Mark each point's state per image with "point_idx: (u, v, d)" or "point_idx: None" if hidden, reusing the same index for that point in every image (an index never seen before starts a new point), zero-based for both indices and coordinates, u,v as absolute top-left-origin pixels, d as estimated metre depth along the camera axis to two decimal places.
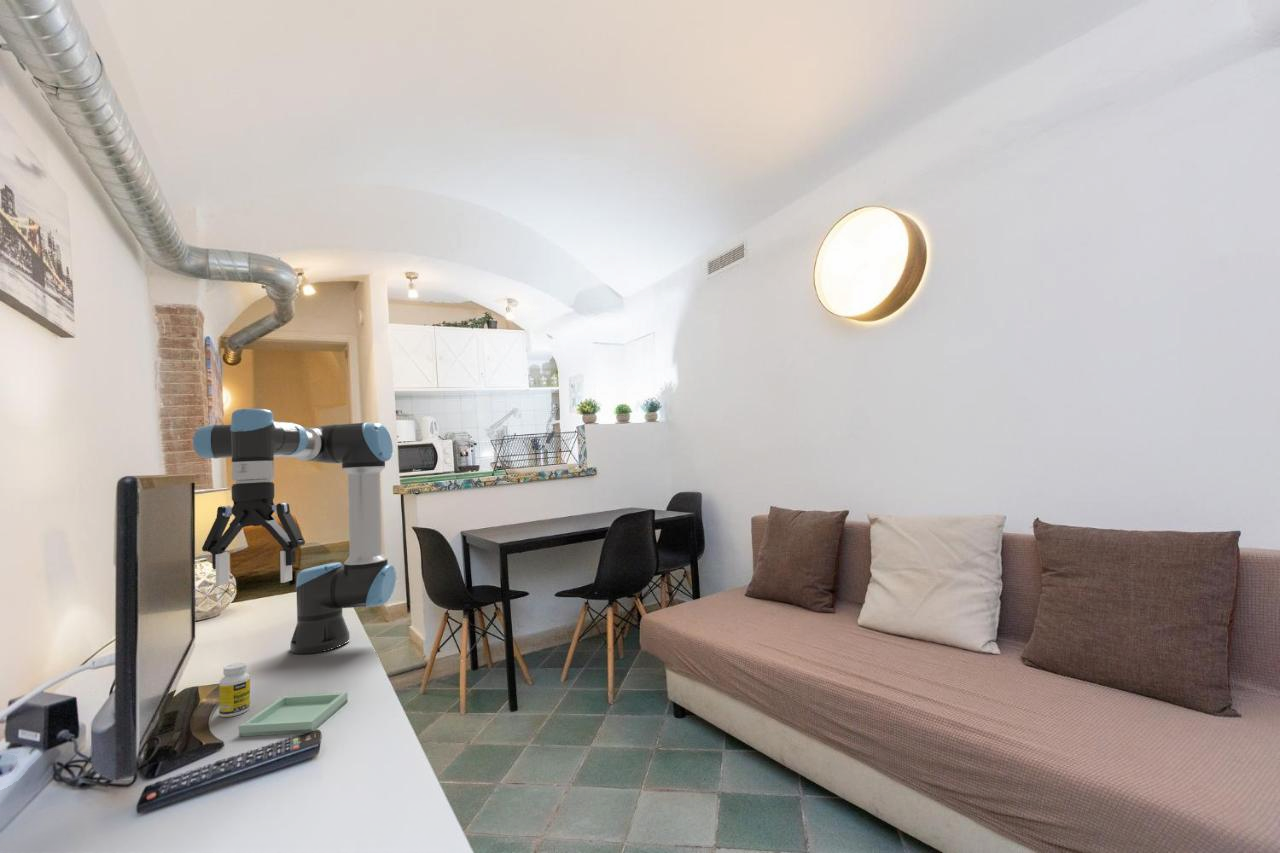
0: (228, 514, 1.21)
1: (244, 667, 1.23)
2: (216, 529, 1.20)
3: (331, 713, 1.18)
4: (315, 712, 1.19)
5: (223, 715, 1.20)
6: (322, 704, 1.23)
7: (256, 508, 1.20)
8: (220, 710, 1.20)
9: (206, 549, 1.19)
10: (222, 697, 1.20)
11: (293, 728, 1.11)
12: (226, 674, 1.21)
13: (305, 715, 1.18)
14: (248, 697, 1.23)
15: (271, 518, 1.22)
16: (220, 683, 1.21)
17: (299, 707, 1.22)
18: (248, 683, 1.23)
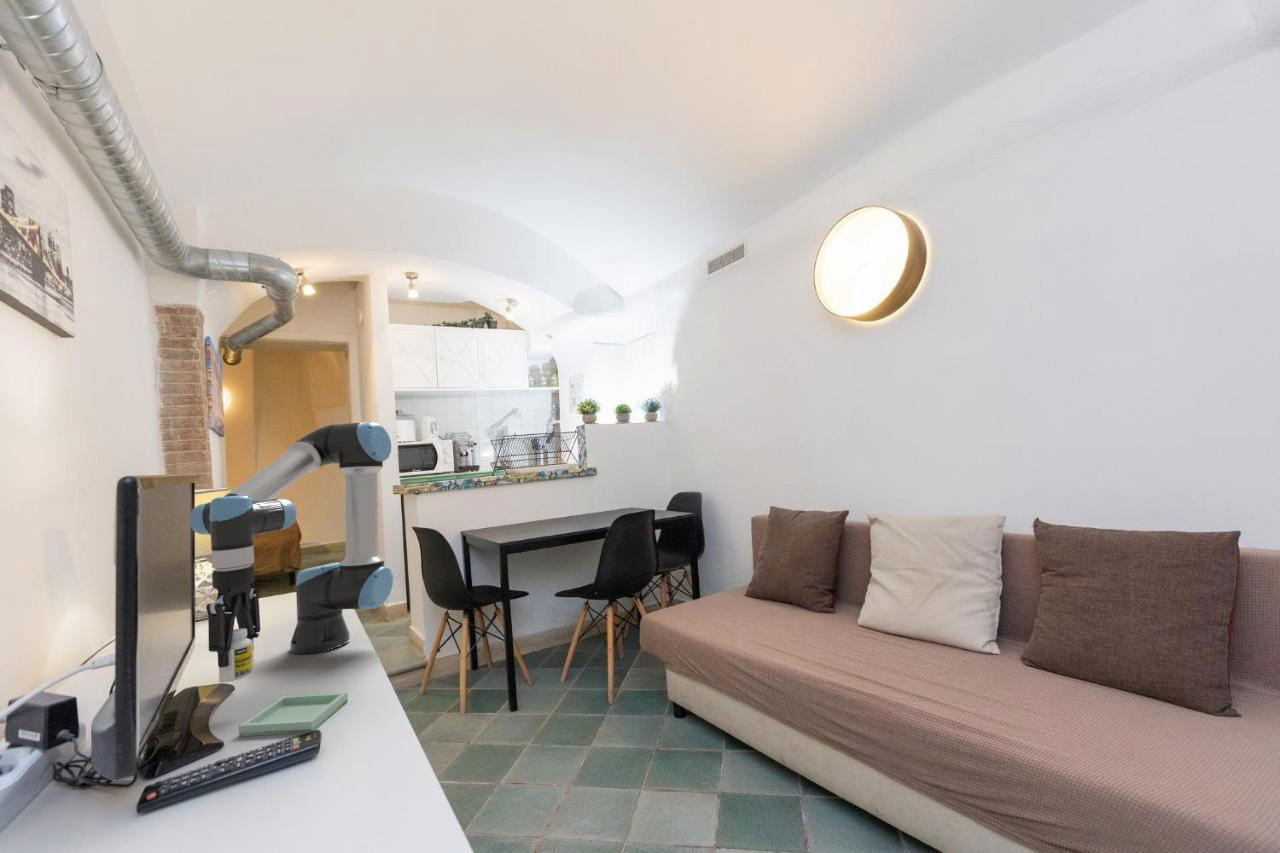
0: None
1: (245, 632, 1.24)
2: None
3: (331, 713, 1.18)
4: (315, 712, 1.19)
5: None
6: (322, 704, 1.23)
7: None
8: None
9: None
10: None
11: (293, 728, 1.11)
12: None
13: (305, 715, 1.18)
14: (250, 662, 1.24)
15: None
16: None
17: (299, 707, 1.22)
18: (249, 648, 1.24)
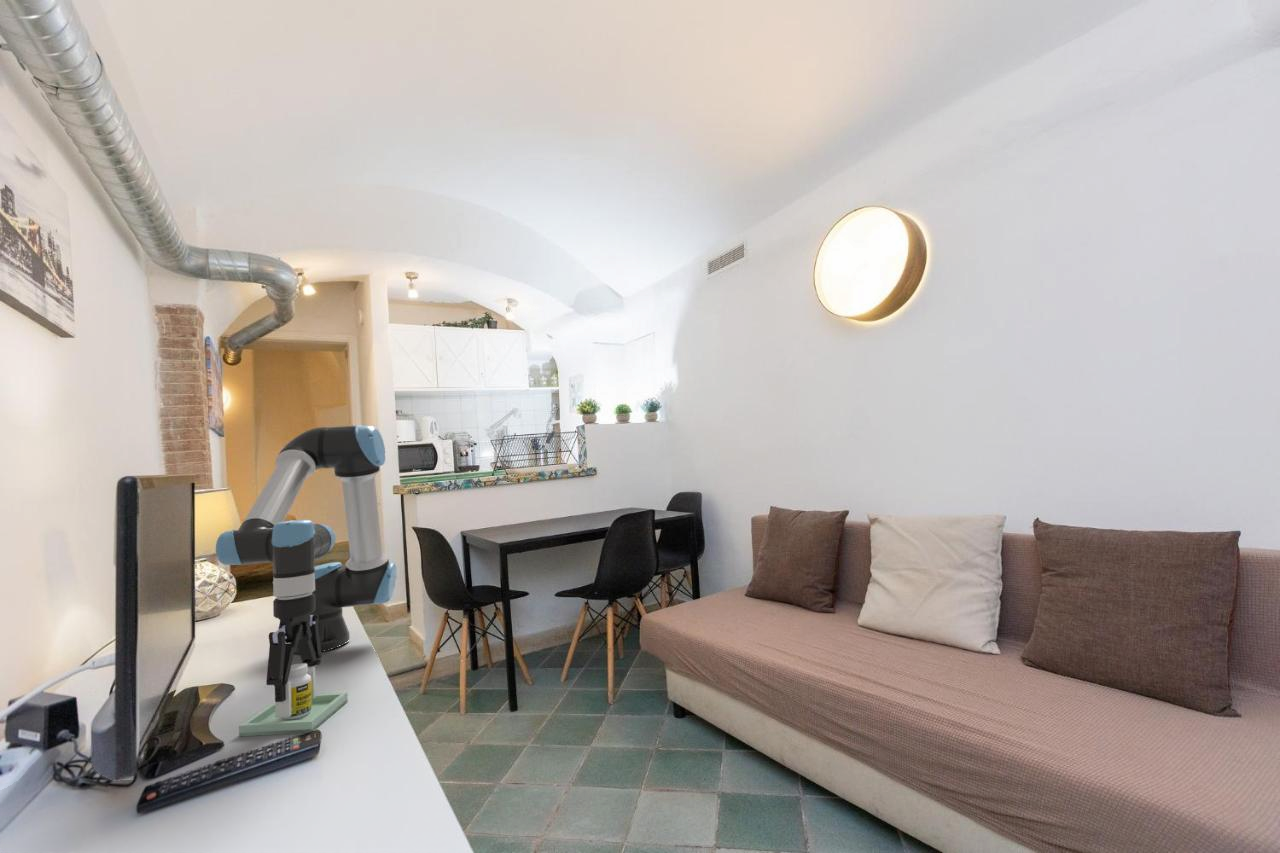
0: None
1: (306, 668, 1.19)
2: None
3: (331, 713, 1.18)
4: (315, 712, 1.19)
5: (286, 718, 1.15)
6: (322, 704, 1.23)
7: None
8: None
9: None
10: None
11: (293, 728, 1.11)
12: None
13: None
14: (310, 699, 1.19)
15: None
16: None
17: None
18: (310, 684, 1.19)
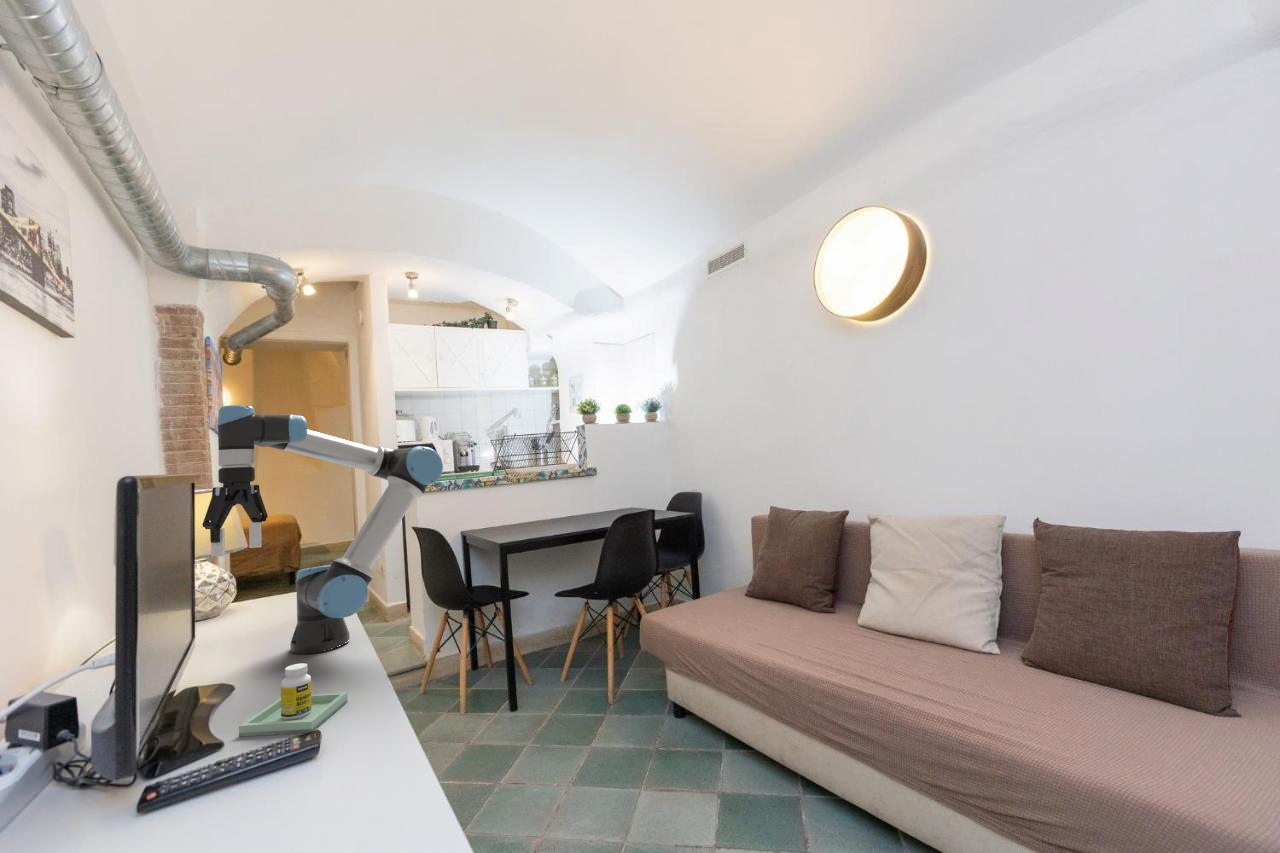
0: None
1: (306, 668, 1.19)
2: None
3: (331, 713, 1.18)
4: (315, 712, 1.19)
5: (286, 718, 1.15)
6: (322, 704, 1.23)
7: None
8: (282, 713, 1.16)
9: None
10: (285, 699, 1.16)
11: (293, 728, 1.11)
12: (288, 675, 1.17)
13: None
14: (310, 699, 1.19)
15: None
16: (282, 685, 1.16)
17: None
18: (310, 684, 1.19)
